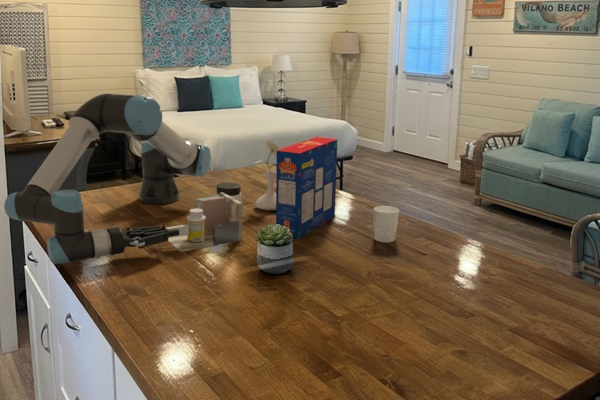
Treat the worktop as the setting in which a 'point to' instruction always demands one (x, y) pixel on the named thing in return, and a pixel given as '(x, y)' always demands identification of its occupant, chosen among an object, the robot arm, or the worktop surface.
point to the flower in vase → (269, 184)
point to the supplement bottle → (196, 227)
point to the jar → (230, 190)
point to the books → (212, 211)
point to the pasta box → (306, 185)
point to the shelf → (231, 216)
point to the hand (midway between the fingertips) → (187, 229)
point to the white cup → (385, 223)
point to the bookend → (225, 233)
